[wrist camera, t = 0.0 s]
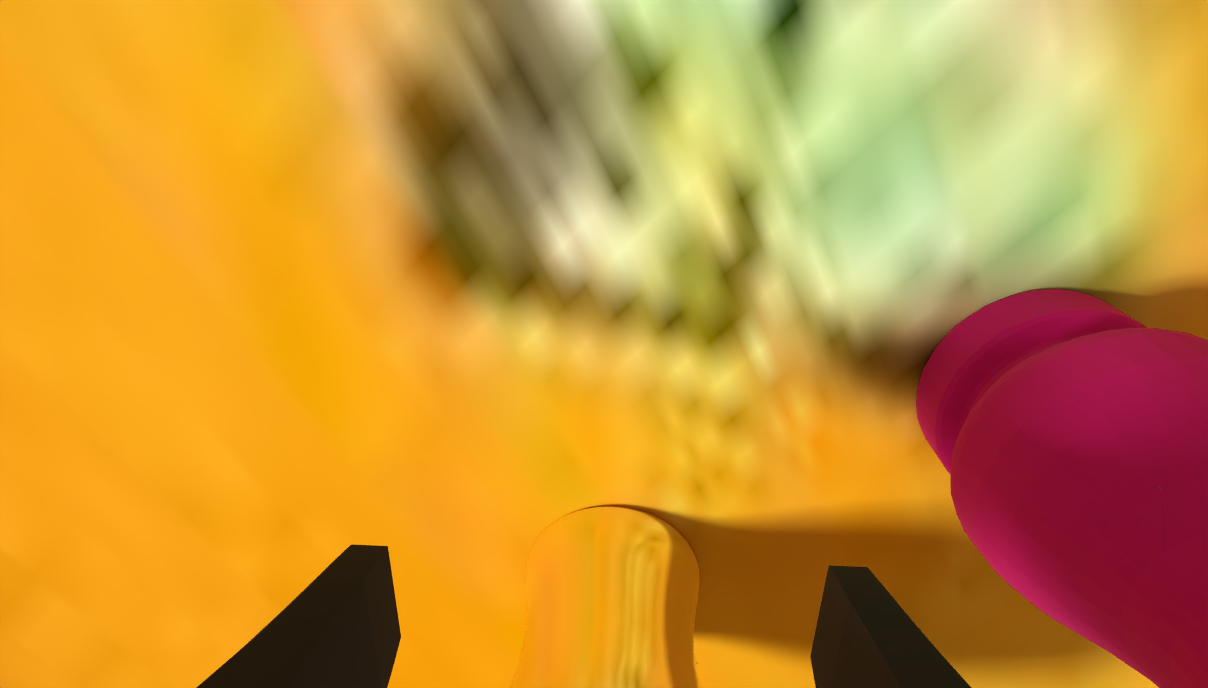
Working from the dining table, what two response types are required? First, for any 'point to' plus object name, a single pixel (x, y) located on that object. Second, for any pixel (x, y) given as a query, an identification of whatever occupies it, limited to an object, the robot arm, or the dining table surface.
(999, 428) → the pepper mill
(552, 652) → the pale grey carved column
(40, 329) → the dining table surface
